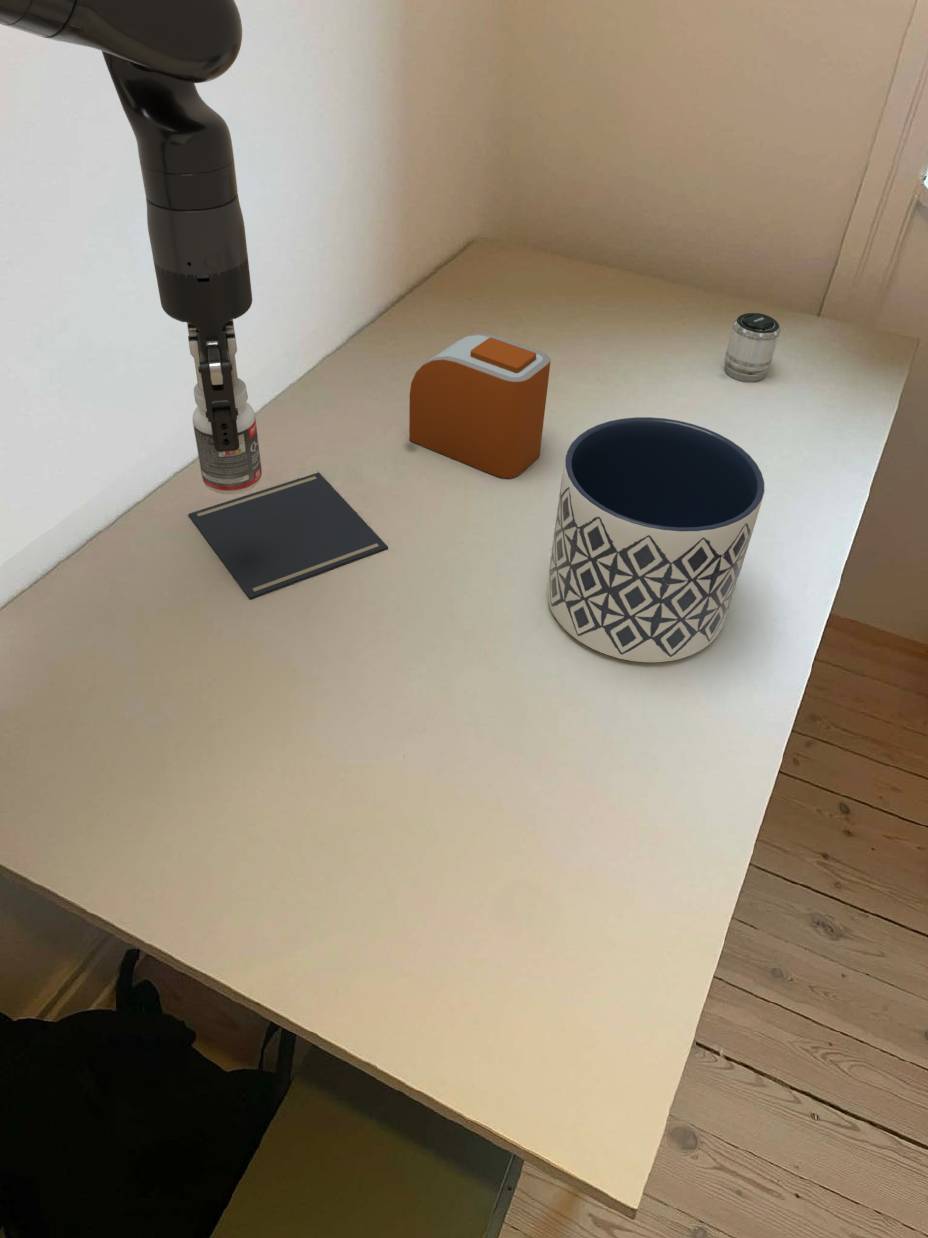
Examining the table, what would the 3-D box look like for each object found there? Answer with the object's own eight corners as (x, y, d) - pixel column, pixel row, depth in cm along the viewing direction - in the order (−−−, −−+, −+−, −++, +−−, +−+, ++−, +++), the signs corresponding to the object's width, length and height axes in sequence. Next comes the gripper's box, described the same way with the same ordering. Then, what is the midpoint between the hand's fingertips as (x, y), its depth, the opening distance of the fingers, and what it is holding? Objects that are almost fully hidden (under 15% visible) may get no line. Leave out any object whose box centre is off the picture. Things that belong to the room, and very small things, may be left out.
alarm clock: (547, 451, 119) (559, 349, 110) (511, 483, 114) (520, 379, 104) (447, 412, 125) (451, 312, 115) (408, 440, 119) (409, 338, 110)
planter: (743, 581, 102) (785, 449, 91) (694, 692, 90) (736, 556, 79) (583, 528, 108) (604, 398, 97) (517, 627, 96) (533, 490, 84)
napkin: (249, 599, 97) (249, 597, 97) (188, 515, 106) (187, 513, 106) (388, 548, 104) (388, 546, 104) (319, 474, 113) (318, 471, 113)
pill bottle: (270, 489, 93) (260, 397, 86) (211, 502, 91) (196, 409, 84) (252, 457, 97) (241, 367, 90) (196, 469, 95) (180, 378, 88)
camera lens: (712, 369, 136) (725, 316, 131) (740, 356, 139) (753, 304, 134) (749, 388, 133) (764, 334, 127) (776, 374, 136) (791, 321, 130)
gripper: (151, 219, 83) (181, 394, 94) (153, 292, 73) (186, 478, 84) (240, 216, 84) (259, 388, 96) (254, 286, 74) (273, 470, 86)
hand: (225, 429), depth 90 cm, fingers closed on pill bottle, 5 cm apart
